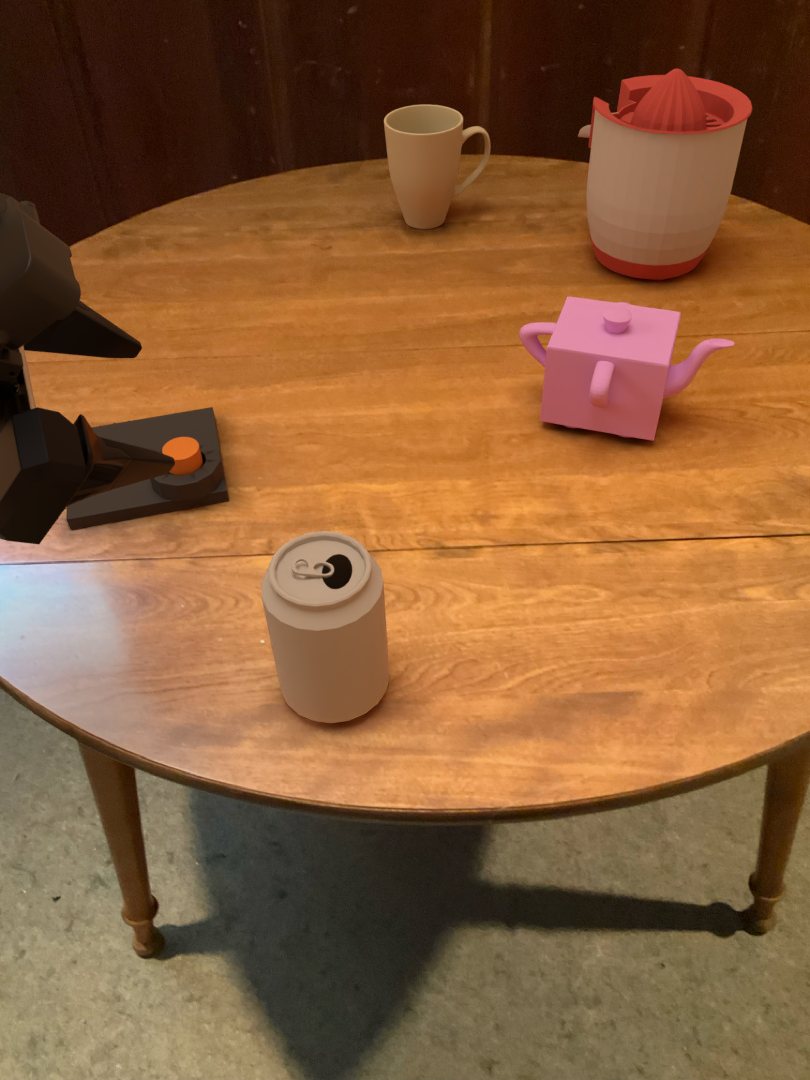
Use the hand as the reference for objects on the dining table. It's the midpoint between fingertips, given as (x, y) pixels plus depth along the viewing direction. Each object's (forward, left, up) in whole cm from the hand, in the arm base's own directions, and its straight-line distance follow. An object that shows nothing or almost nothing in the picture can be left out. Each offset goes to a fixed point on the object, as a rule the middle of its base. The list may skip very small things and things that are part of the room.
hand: (154, 406), depth 55 cm
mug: (+33, +58, -19) cm, 69 cm away
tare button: (0, +15, -17) cm, 22 cm away
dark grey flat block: (-4, +19, -19) cm, 27 cm away
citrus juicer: (+53, +42, -19) cm, 70 cm away
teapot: (+38, +15, -19) cm, 45 cm away
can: (+8, -8, -19) cm, 23 cm away
